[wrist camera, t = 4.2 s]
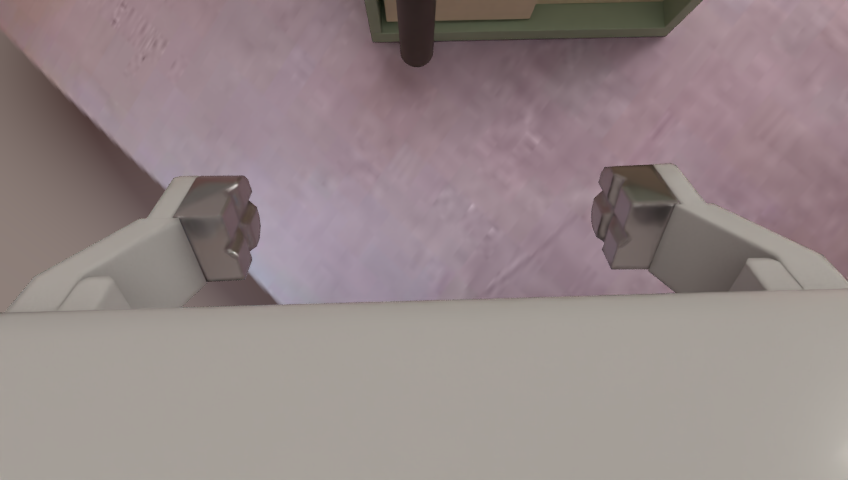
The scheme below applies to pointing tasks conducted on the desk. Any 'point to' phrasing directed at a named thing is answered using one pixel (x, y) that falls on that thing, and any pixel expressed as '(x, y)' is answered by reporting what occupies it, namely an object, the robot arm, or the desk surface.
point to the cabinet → (553, 21)
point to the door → (426, 3)
